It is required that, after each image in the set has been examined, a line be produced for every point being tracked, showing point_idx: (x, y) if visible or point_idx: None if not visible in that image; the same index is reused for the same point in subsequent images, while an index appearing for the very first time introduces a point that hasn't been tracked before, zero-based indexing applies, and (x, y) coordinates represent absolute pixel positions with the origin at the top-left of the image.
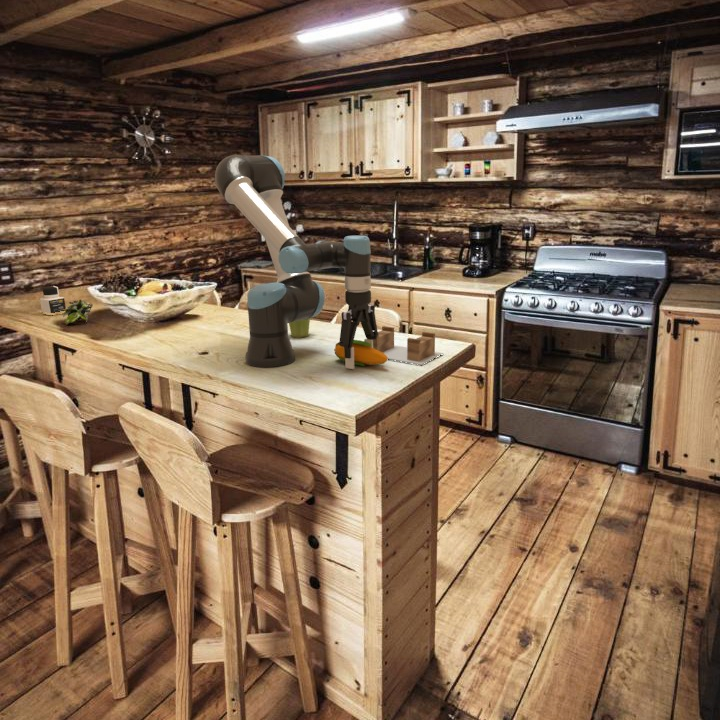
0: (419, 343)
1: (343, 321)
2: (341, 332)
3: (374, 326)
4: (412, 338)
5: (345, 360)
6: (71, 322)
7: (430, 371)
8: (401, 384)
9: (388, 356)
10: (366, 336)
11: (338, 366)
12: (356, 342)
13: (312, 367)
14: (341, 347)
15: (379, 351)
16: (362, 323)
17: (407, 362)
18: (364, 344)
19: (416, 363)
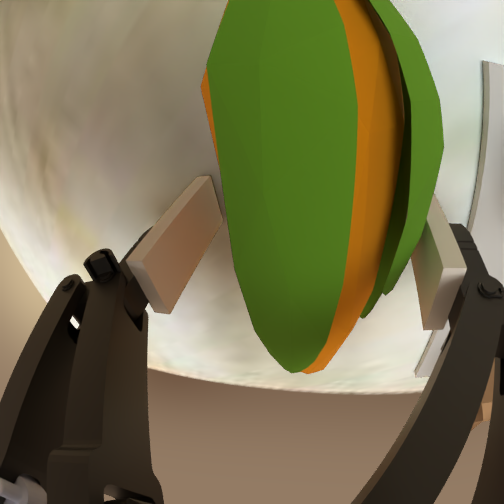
0: None
1: (2, 444)
2: (26, 361)
3: (489, 435)
4: (473, 427)
5: (177, 200)
6: None
7: (373, 393)
8: (231, 377)
9: (489, 262)
10: (464, 301)
11: (193, 116)
12: (256, 292)
13: (88, 40)
14: (206, 109)
15: (305, 369)
16: (367, 492)
17: (430, 344)
18: (269, 345)
19: (419, 367)
